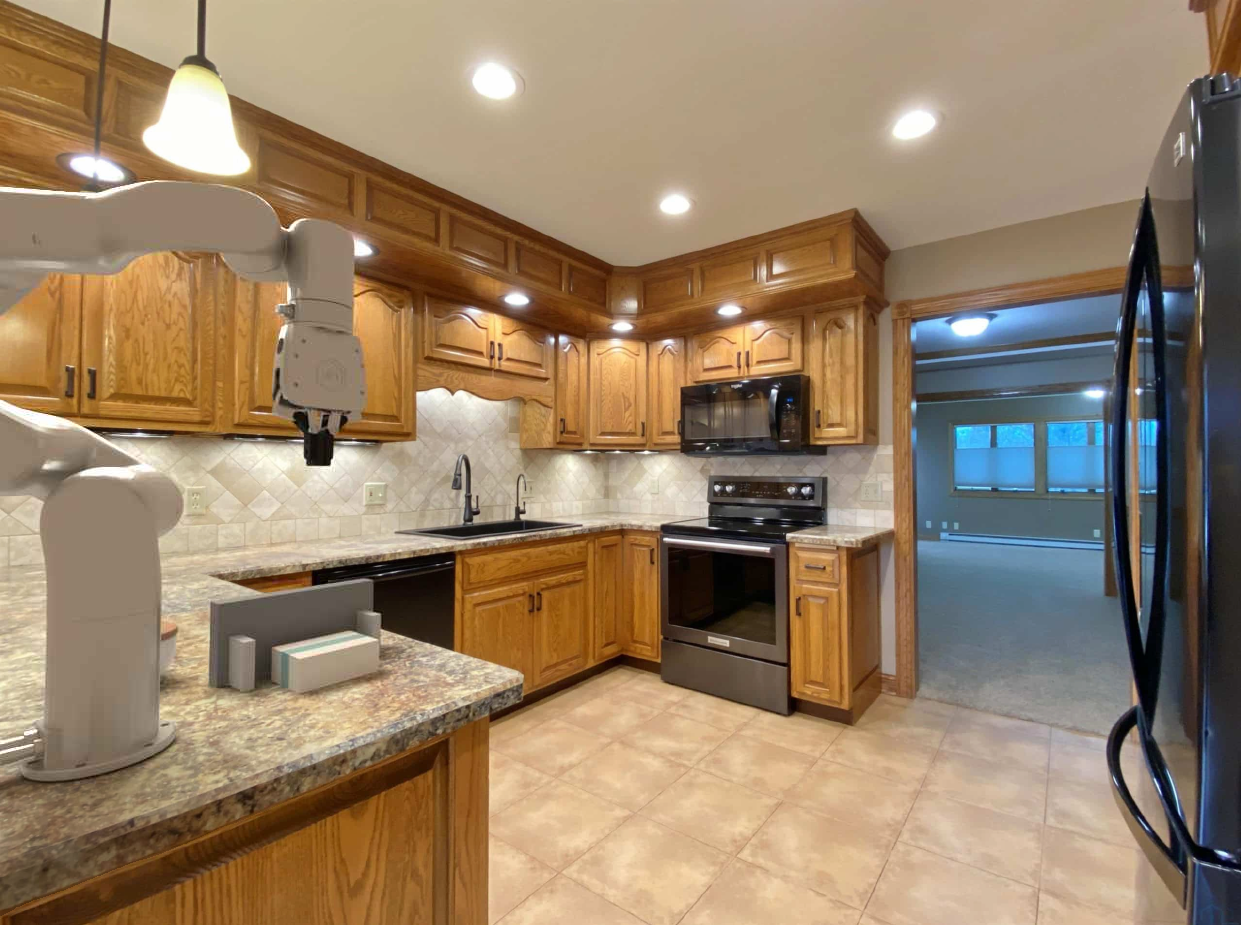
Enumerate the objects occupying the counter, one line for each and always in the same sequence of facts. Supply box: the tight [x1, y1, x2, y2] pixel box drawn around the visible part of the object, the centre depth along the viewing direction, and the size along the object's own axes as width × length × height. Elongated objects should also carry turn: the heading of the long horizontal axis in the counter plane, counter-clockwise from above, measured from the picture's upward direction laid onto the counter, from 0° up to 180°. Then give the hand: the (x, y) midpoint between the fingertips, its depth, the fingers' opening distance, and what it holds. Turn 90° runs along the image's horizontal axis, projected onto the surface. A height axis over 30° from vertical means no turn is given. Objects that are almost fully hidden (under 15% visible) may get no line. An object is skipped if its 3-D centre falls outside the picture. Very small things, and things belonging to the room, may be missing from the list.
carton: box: [270, 631, 380, 695], centre depth 88 cm, size 12×9×5 cm
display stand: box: [208, 578, 382, 693], centre depth 92 cm, size 24×8×12 cm, turn 144°
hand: (318, 465), depth 73 cm, fingers closed
